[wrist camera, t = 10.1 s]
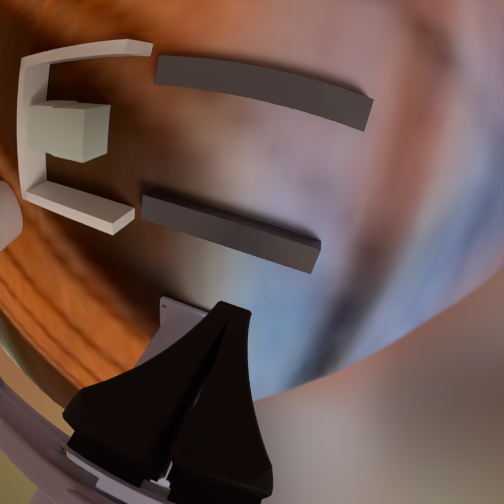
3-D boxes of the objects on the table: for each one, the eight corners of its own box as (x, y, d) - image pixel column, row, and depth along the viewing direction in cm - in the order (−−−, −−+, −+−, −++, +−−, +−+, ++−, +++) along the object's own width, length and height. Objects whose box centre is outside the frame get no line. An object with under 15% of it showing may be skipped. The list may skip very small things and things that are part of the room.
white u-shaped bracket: (134, 218, 22) (112, 235, 19) (42, 187, 23) (22, 198, 21) (153, 43, 14) (127, 38, 12) (45, 55, 15) (21, 57, 13)
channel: (311, 264, 20) (310, 274, 19) (149, 212, 21) (141, 218, 20) (370, 99, 14) (373, 99, 13) (168, 56, 15) (159, 55, 14)
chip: (76, 144, 20) (51, 153, 17) (51, 140, 20) (27, 148, 18) (78, 100, 18) (52, 106, 15) (52, 100, 18) (28, 105, 16)
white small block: (107, 152, 20) (82, 162, 17) (76, 146, 20) (51, 155, 17) (111, 104, 17) (85, 109, 15) (78, 102, 18) (53, 107, 15)
